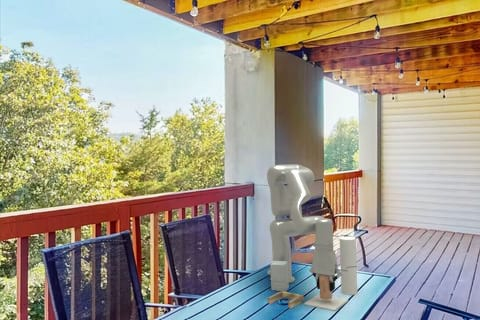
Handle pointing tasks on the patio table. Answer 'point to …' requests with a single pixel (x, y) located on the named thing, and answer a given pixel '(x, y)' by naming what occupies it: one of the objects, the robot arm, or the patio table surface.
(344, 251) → the cylindrical container
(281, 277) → the supplement box
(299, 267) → the patio table surface
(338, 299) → the mat
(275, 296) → the cradle
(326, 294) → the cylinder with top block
